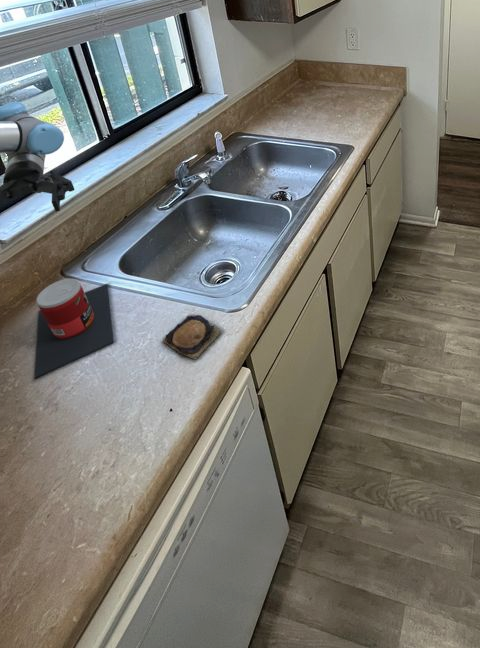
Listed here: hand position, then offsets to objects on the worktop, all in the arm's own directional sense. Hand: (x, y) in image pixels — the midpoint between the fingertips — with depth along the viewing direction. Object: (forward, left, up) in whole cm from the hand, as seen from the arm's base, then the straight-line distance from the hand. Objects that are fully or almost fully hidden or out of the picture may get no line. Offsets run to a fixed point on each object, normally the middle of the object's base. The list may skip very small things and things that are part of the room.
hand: (17, 218), depth 96 cm
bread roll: (+25, -29, -27) cm, 47 cm away
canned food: (+3, -10, -27) cm, 29 cm away
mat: (+3, -10, -27) cm, 29 cm away
